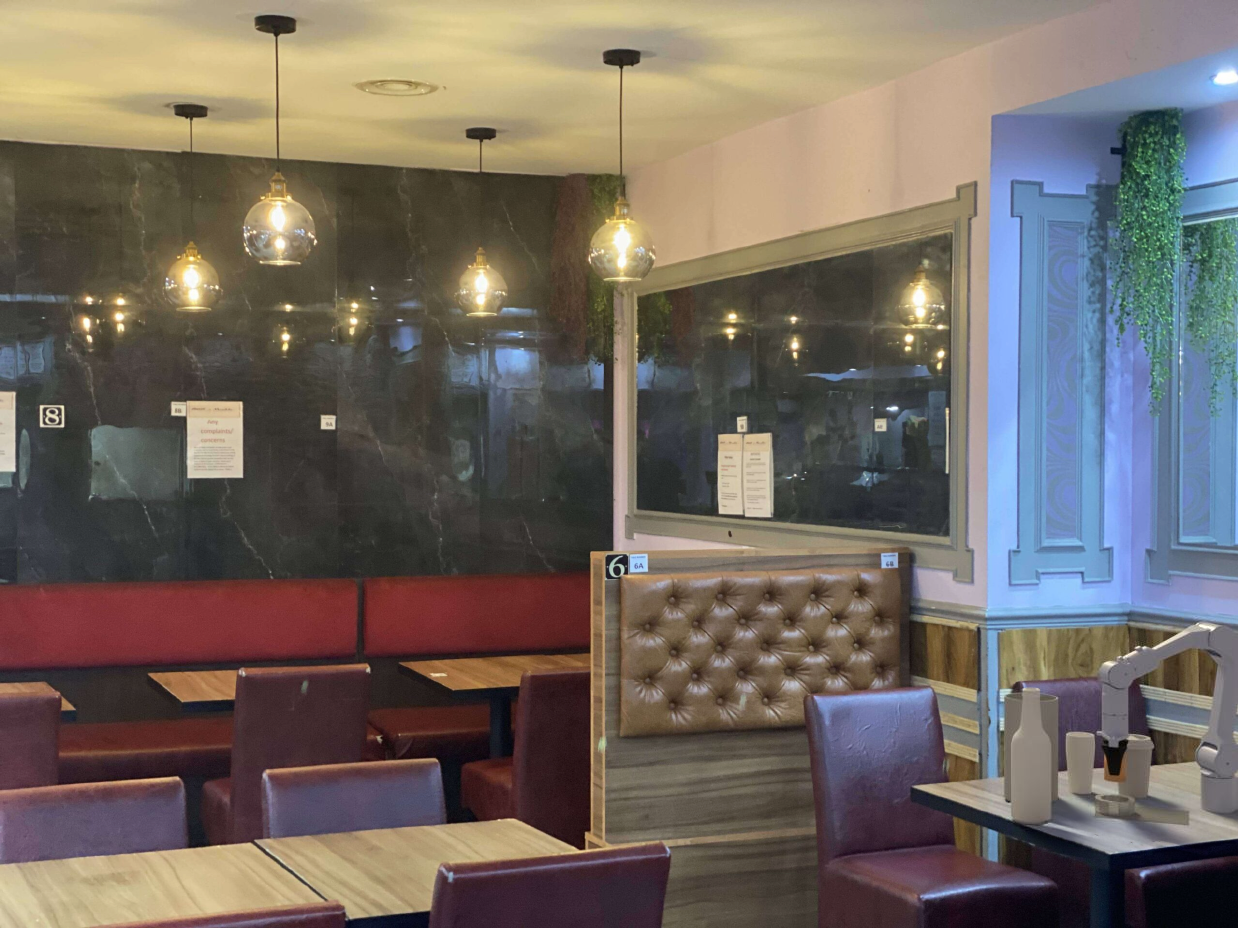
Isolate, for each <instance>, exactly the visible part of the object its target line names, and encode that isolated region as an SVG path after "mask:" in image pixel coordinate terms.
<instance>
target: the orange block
mask: <svg viewBox="0 0 1238 928" xmlns="http://www.w3.org/2000/svg"><path fill="white" fill-rule="evenodd" d="M1103 753H1104V752H1103ZM1103 758H1104V761H1103V767H1104V768H1103V769H1104V770H1103V773H1104V774H1103V779H1104V780H1105V781H1106V782H1111V783H1118V782H1125V781H1126V754H1125V753H1124V756H1123V759H1122V764H1121V770H1120V774H1119V776H1114V775H1110V774H1109V771H1108V765H1107V760H1106V756H1105V753H1104V757H1103Z"/></svg>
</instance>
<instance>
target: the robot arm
mask: <svg viewBox="0 0 1238 928" xmlns="http://www.w3.org/2000/svg"><path fill="white" fill-rule="evenodd" d="M1133 649H1134V650H1133V651H1132V652H1129V653H1127V654H1125V655H1123V656H1122V655H1119V656H1117V657H1116V661H1114V660H1108V661H1105V662H1103V663H1102V664H1101V666H1100V668H1099V671H1097V673H1096V674H1097V675H1096V676H1097V678H1098V680H1099V682H1100V683H1101V688H1102V689H1101V730H1097V731H1096V736H1098V737H1099V736H1100V737H1103V739H1102V742H1103V743H1101V745H1100V747H1101V749H1102V752H1103V753H1105V756H1106V760H1107V765H1108V771H1109V774H1110V775H1114V776H1119V774H1120V770H1121V764H1122V759H1123V756H1124V753H1125V751H1126V749H1127V744H1128V742H1129V740H1128V739H1126V738H1129V734H1130V733H1129V687H1130V686H1131V685H1132V684H1133V682H1134V680H1136V679H1138V678H1140V677H1143V676H1145V675H1147V674H1148V673H1151V672H1153V671H1154V670H1157V669H1158V667H1159V665H1160V663H1161V661H1162V660H1166V659H1168V658H1170V657H1173V656H1175V655H1178V654H1180V653H1182V652H1184V651H1188V650H1189V649H1199V650H1202V651H1204V652H1206V653H1208V654H1209V655H1210V657H1211V658H1212V659H1213V661H1214V662H1215V663H1216V664H1217V670H1216V676H1215V682H1214V683H1215V684H1214V689H1213V695H1212V703H1211V708H1210V709H1211V710H1210V716H1209V722H1208V723H1209V724H1208V728H1207V729H1208V730H1207V731H1206V732H1205V733H1204V734H1203V735H1202V736H1201V739H1200V744H1199V746H1198V747H1197V748H1196V750H1195V753H1194V759H1195V762H1196V763H1197V765H1198V766H1199V767H1200V809H1201V810H1202V811H1206V812H1210V813H1219V814H1228V813H1229V814H1230V813H1233V812H1235V811H1237V810H1238V776H1237V775H1235V774H1237V772H1238V743H1237V741H1236V739H1235V737H1234V731H1235V726H1236V719H1237V712H1238V634H1237V633H1236V632H1235V631H1234V630H1233V629H1232V628H1231V627H1230V626H1227V625H1220V624H1215V623H1212V622H1209V621H1200V622H1199V621H1198V622H1197V623H1196V624H1193V625H1190V626H1187V628H1185V629H1184V630H1183V631H1180V632H1179V633H1177V634H1175V635H1173V636H1172V637H1170V638H1168V639H1166V640H1165V641H1163V642H1160V643H1159V644H1157V645H1155V646H1153V647H1148V646H1146V645H1144V646H1140V645H1138V646H1135V647H1134V648H1133Z"/></svg>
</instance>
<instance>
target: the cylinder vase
mask: <svg viewBox="0 0 1238 928" xmlns="http://www.w3.org/2000/svg"><path fill="white" fill-rule="evenodd" d="M1022 694H1023V692H1012V693H1006V694H1004V696H1003V698H1004V699H1003V701H1004V702H1003V706H1004V707H1003V708H1004V709H1003V711H1004V712H1003V718H1004V719H1003V725H1004V726H1003V741H1004V742H1003V750H1004V751H1003V759H1004V760H1003V761H1004V762H1003V767H1004V768H1003V769H1004V770H1003V775H1004V776H1003V785H1004V787H1003V797H1004V798H1005V799H1006V801H1008V802H1009V803H1011V743H1012V739H1013V736H1014V734H1015V733H1016V732H1017V731H1018V730H1019V728H1020V725H1021V714H1022V702H1023V696H1022ZM1040 707H1041V720H1042V727H1043V730H1044V732H1045V733H1046V734H1047V735H1048V737H1049V738H1050V742H1051V803H1052V802H1056V801H1058V800H1059V697H1057V696H1055V695H1052V694H1046V693H1040Z"/></svg>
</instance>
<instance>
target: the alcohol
mask: <svg viewBox="0 0 1238 928" xmlns="http://www.w3.org/2000/svg"><path fill="white" fill-rule="evenodd" d="M1021 691H1022V693H1023V694H1022V696H1023V702H1022V714H1021V725H1020V728H1019V730H1018V731H1017V732H1016V733H1015V734H1014V736H1013V739H1012V743H1011V802H1010V810H1011V811H1010V816H1011V818H1012V820H1013V821H1015V822H1016V823H1018V824H1023V825H1030V826H1031V825H1033V826H1034V825H1035V826H1036V825H1037V826H1039V825H1040V826H1041V825H1047V824H1048V823H1049V820H1051V819H1052V802H1051V742H1050V738H1049V737H1048V735H1047V734H1046V733H1045V732H1044V730H1043V727H1042V720H1041V707H1040V694H1041V689H1040V688H1038V687H1024V688H1022V690H1021Z"/></svg>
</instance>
